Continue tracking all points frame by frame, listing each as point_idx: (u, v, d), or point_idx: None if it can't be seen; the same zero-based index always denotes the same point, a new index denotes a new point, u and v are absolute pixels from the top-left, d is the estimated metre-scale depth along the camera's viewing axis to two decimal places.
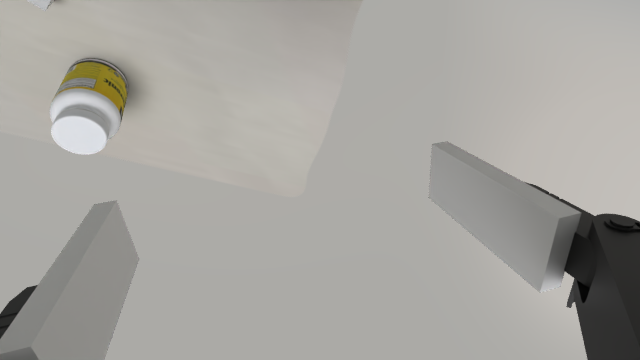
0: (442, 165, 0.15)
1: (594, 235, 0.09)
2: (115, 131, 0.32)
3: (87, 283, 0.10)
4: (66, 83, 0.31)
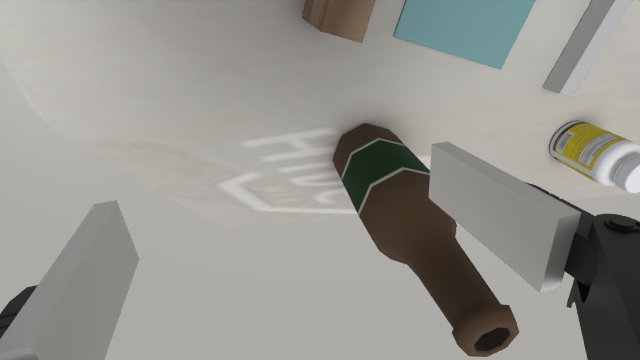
0: (442, 165, 0.15)
1: (594, 235, 0.09)
2: None
3: (87, 283, 0.10)
4: (593, 144, 0.39)
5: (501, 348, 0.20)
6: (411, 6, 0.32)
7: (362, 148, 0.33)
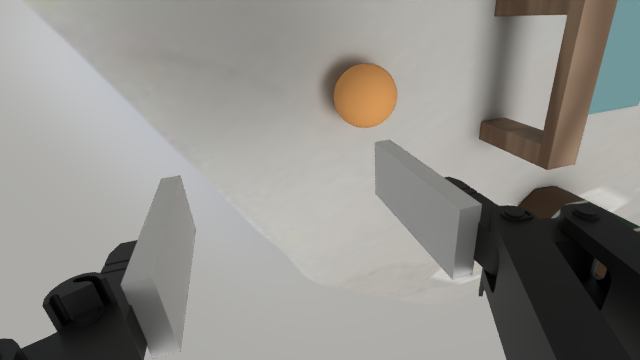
0: (382, 162, 0.15)
1: (494, 228, 0.10)
2: None
3: (172, 239, 0.11)
4: None
5: None
6: None
7: (555, 217, 0.40)
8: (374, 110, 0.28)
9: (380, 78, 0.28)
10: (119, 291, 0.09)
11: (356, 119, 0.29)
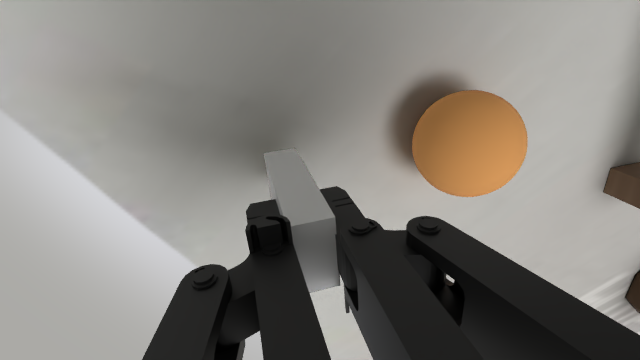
0: None
1: (345, 246, 0.10)
2: None
3: None
4: None
5: None
6: None
7: None
8: (495, 176, 0.16)
9: (509, 120, 0.16)
10: None
11: (457, 187, 0.17)
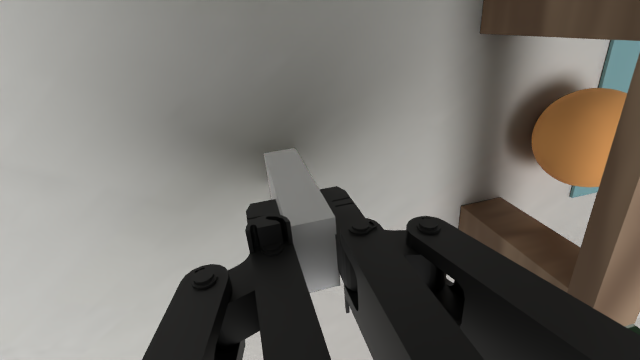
0: None
1: (345, 246, 0.10)
2: None
3: None
4: None
5: None
6: None
7: None
8: None
9: None
10: None
11: None
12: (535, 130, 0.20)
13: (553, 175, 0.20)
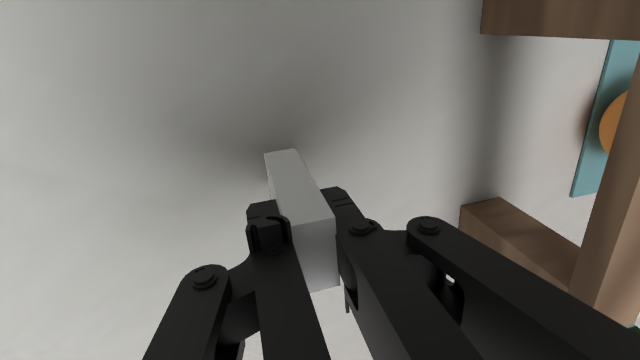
0: None
1: (345, 246, 0.10)
2: None
3: None
4: None
5: None
6: (589, 159, 0.24)
7: None
8: None
9: None
10: None
11: None
12: None
13: None
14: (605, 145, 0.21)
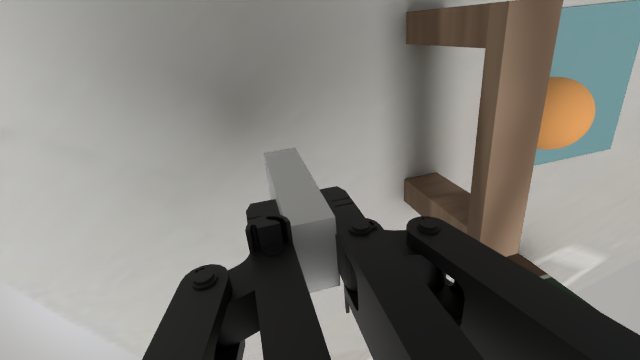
0: None
1: (345, 247, 0.10)
2: None
3: None
4: None
5: None
6: None
7: None
8: None
9: None
10: None
11: None
12: (575, 117, 0.24)
13: (571, 143, 0.26)
14: None
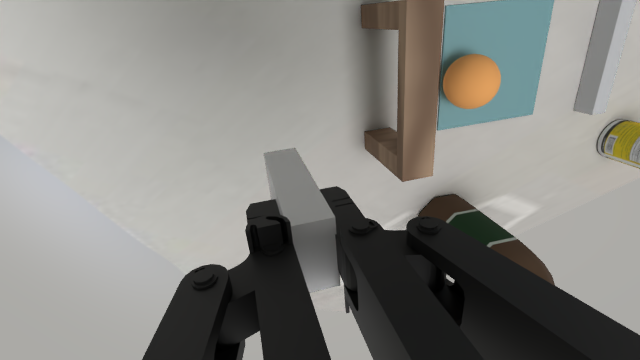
0: None
1: (345, 246, 0.10)
2: None
3: None
4: (639, 143, 0.43)
5: None
6: (444, 105, 0.39)
7: None
8: None
9: None
10: None
11: None
12: (482, 83, 0.33)
13: (485, 103, 0.35)
14: None
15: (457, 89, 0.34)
